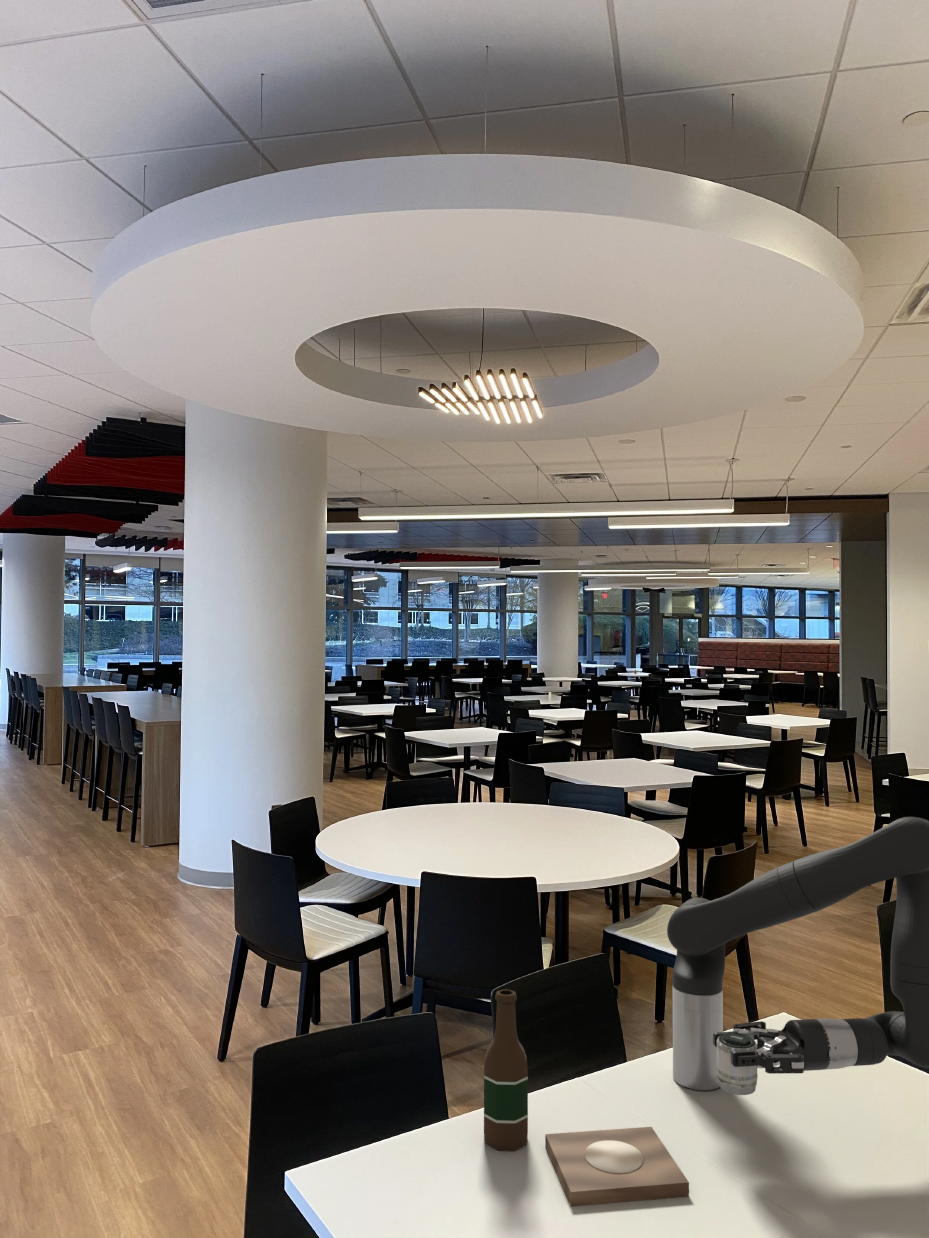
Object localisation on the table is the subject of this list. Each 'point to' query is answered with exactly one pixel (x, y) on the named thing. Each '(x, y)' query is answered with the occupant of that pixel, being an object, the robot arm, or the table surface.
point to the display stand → (615, 1166)
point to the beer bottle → (505, 1081)
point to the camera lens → (728, 1075)
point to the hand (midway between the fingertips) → (723, 1049)
